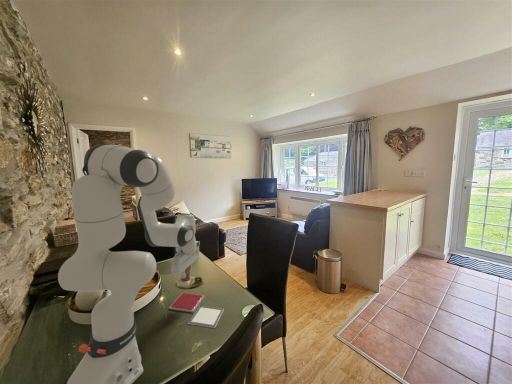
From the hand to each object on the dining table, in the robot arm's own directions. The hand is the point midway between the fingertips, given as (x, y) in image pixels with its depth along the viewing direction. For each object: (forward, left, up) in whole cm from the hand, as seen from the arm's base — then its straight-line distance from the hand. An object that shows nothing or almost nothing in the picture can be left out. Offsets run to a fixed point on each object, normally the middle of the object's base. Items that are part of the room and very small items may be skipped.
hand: (186, 275), depth 102 cm
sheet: (-7, -13, -14) cm, 21 cm away
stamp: (0, 0, -5) cm, 5 cm away
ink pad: (0, 0, -14) cm, 14 cm away
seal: (+16, +7, -15) cm, 23 cm away
